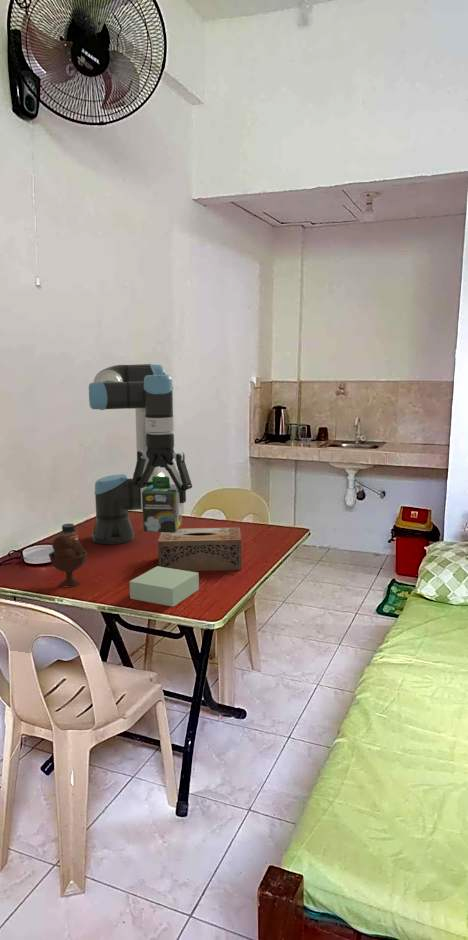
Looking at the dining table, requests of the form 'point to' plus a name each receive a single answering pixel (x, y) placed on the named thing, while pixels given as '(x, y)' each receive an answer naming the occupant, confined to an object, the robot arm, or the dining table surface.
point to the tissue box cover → (200, 549)
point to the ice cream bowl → (67, 557)
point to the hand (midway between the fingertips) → (162, 512)
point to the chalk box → (160, 507)
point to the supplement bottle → (69, 531)
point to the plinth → (164, 586)
